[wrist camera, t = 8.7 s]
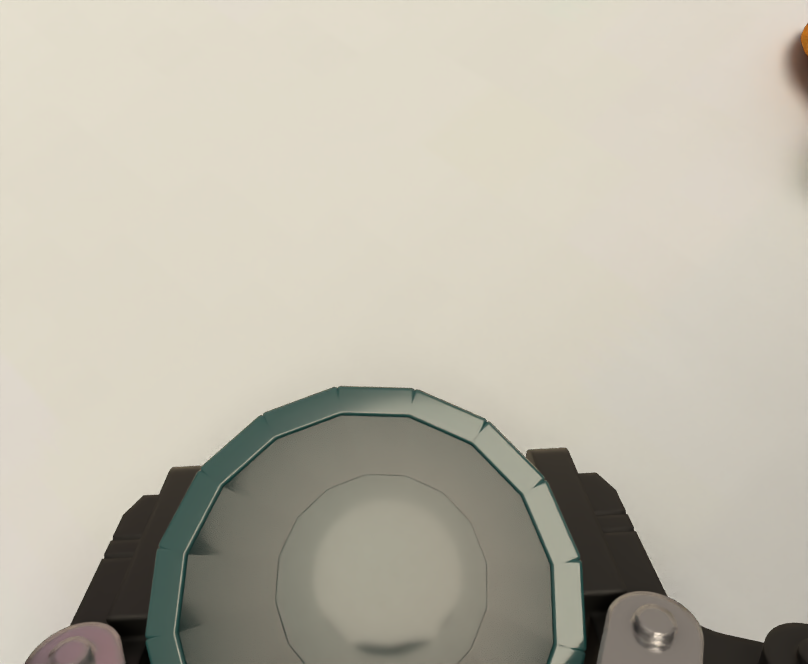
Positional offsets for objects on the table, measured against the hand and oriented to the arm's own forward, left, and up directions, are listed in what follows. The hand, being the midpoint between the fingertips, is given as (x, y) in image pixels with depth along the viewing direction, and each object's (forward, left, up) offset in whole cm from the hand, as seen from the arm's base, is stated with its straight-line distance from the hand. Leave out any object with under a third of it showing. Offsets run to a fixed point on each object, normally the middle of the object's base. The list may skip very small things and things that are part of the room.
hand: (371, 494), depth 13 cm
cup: (+1, +1, -4) cm, 5 cm away
